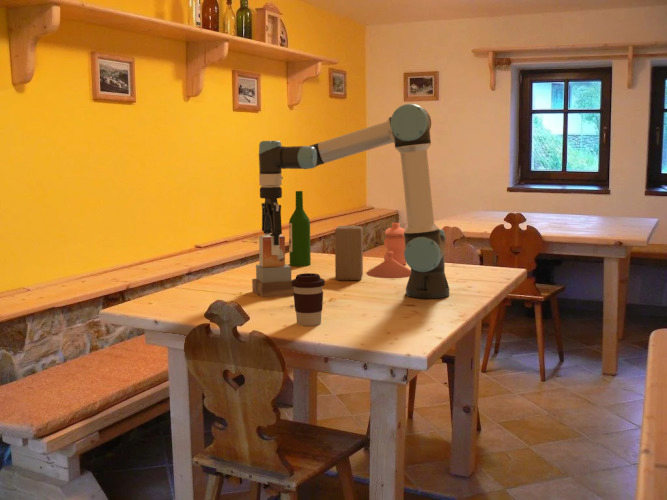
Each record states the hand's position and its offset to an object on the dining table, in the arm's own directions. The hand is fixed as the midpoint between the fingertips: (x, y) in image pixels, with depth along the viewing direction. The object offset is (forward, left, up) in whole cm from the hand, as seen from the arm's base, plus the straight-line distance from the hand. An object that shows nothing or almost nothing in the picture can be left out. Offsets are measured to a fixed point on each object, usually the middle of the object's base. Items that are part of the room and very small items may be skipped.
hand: (272, 253), depth 254 cm
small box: (0, 0, -5) cm, 5 cm away
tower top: (0, 0, -9) cm, 9 cm away
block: (+17, -37, -14) cm, 43 cm away
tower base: (0, 0, -14) cm, 14 cm away
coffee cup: (-37, +1, -17) cm, 41 cm away
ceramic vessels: (+25, -60, -14) cm, 67 cm away
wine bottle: (+52, -30, -14) cm, 62 cm away
